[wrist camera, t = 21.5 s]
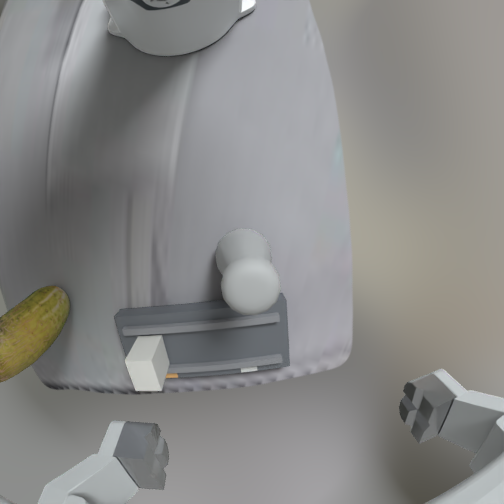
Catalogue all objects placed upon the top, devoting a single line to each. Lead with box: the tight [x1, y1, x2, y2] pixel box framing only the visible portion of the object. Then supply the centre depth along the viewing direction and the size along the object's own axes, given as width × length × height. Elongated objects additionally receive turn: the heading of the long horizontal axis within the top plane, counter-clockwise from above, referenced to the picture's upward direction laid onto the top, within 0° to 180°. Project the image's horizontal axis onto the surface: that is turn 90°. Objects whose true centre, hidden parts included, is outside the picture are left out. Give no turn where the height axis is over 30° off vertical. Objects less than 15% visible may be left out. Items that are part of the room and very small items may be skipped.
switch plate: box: [114, 293, 290, 378], centre depth 32 cm, size 9×20×3 cm, turn 96°
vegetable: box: [0, 286, 70, 382], centre depth 22 cm, size 6×6×20 cm
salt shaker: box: [215, 228, 281, 315], centre depth 26 cm, size 6×6×13 cm
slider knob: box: [125, 335, 170, 391], centre depth 28 cm, size 4×3×5 cm
